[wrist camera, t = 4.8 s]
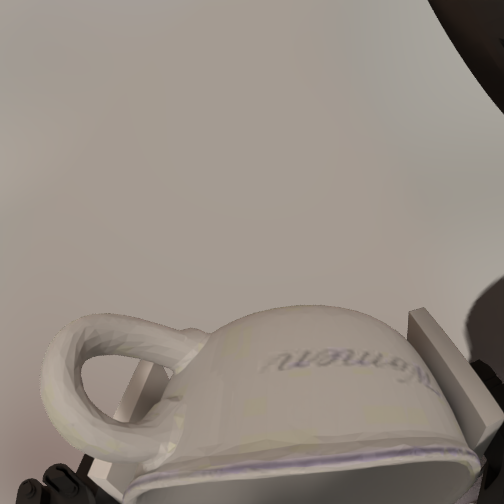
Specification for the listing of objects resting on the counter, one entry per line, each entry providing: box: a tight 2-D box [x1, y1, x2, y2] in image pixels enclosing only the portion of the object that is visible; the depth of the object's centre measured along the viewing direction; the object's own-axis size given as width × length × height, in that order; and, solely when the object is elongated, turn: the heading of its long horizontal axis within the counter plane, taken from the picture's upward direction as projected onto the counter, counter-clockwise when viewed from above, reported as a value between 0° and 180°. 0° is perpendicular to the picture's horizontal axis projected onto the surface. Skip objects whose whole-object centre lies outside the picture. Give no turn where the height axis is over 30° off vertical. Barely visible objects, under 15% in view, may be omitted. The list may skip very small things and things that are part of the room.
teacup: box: [40, 305, 481, 504], centre depth 9 cm, size 14×11×8 cm
